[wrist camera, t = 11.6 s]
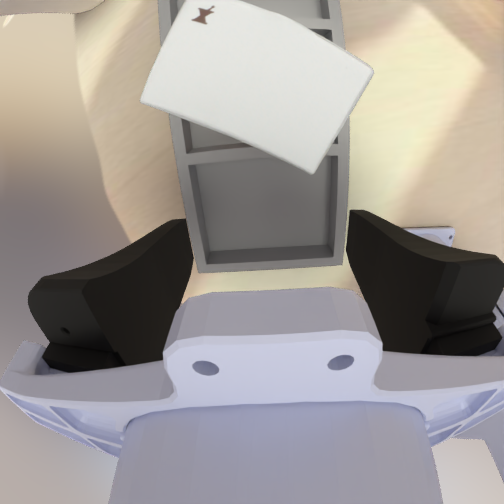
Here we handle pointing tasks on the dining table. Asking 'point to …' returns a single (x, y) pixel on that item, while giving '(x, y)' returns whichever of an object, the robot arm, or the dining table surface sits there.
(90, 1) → the foam cup
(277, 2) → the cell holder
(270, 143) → the skincare box
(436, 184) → the dining table surface
